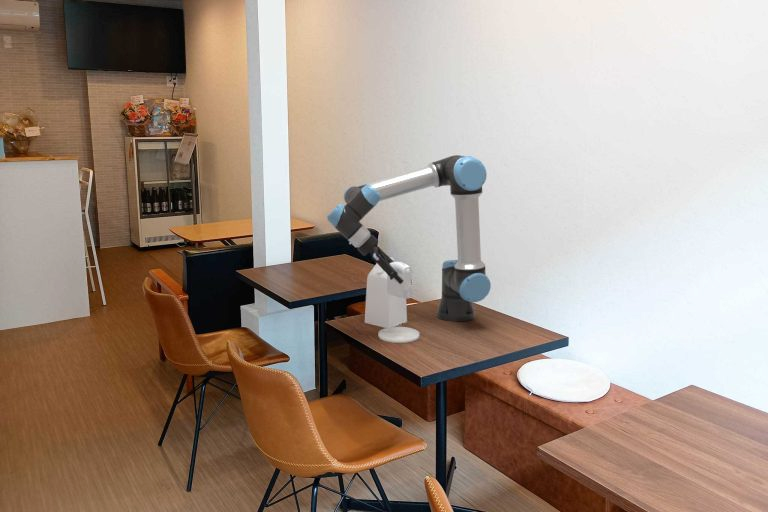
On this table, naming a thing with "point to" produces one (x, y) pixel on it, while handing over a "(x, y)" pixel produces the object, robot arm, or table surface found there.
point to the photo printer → (394, 286)
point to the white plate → (398, 334)
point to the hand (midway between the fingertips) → (408, 285)
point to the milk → (383, 301)
